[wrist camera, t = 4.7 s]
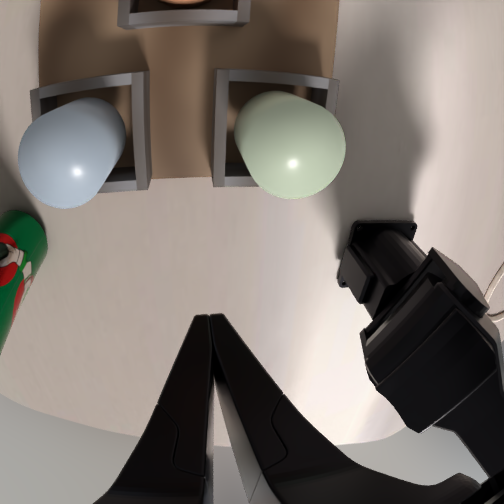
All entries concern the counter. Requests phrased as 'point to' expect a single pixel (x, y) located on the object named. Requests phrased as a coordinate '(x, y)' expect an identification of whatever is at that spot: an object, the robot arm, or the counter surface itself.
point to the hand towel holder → (490, 290)
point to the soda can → (17, 263)
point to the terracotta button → (183, 3)
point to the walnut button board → (183, 75)
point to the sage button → (289, 144)
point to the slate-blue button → (71, 151)
